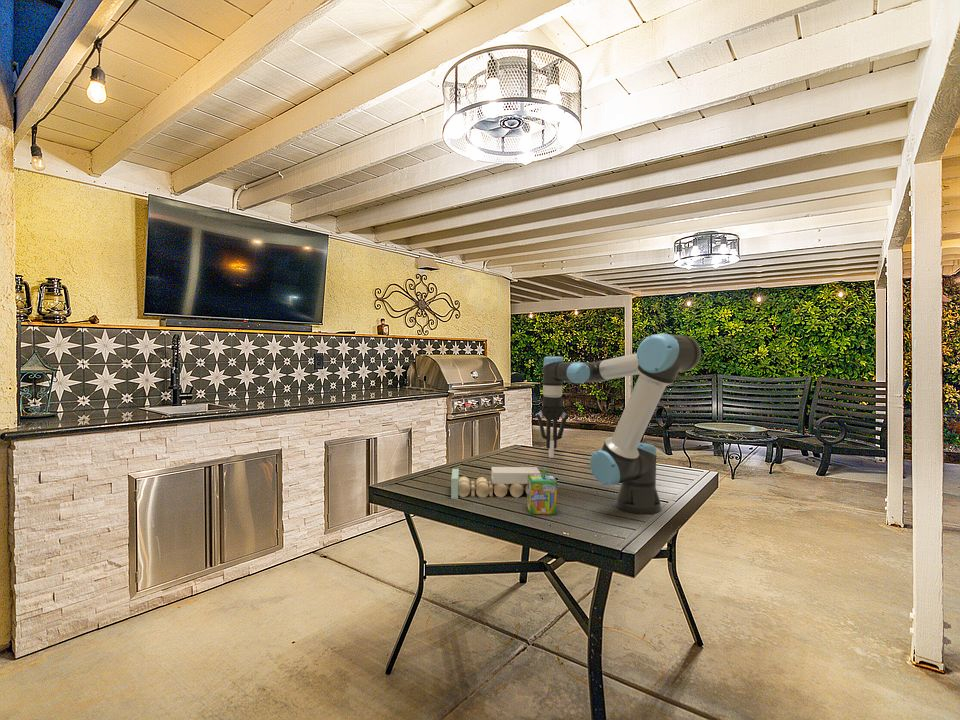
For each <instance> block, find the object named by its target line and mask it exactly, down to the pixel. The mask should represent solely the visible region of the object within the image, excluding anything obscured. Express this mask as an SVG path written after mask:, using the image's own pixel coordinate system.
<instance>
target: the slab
mask: <svg viewBox="0 0 960 720" xmlns="http://www.w3.org/2000/svg"><path fill="white" fill-rule="evenodd" d="M528 474H539V475H541V474H542V472H541V471H540V470H539V468H538V467H536V466H535V467H532V466H524V467H523V466H491V476H490V477H491V481H492V485H493V484H506V485H508V484H521V485H523V484H528Z"/></svg>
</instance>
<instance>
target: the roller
mask: <svg viewBox="0 0 960 720" xmlns="http://www.w3.org/2000/svg"><path fill="white" fill-rule="evenodd" d="M488 481H489V480H487V478H486V477H483V476H481V477H480V476H479V477H478V478H477V479H476V481H475V482H474V485H475V492H476V495H477V497H479V498H487V497H488V496H489V485H488Z"/></svg>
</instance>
